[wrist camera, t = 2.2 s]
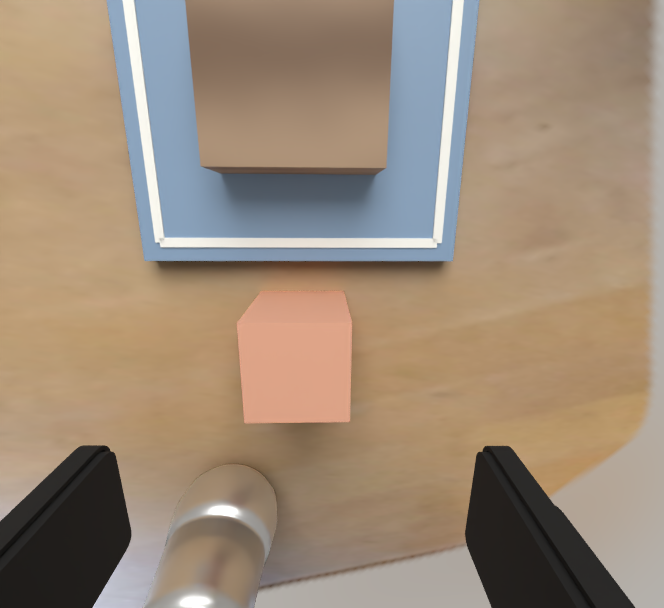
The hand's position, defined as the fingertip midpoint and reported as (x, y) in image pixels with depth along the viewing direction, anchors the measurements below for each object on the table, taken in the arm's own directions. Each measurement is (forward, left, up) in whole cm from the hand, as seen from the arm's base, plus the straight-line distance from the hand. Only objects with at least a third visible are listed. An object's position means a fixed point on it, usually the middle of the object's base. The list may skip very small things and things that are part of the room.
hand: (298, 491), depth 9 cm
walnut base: (+13, +1, -12) cm, 17 cm away
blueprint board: (+13, +1, -13) cm, 18 cm away
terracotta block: (0, +1, -13) cm, 13 cm away
